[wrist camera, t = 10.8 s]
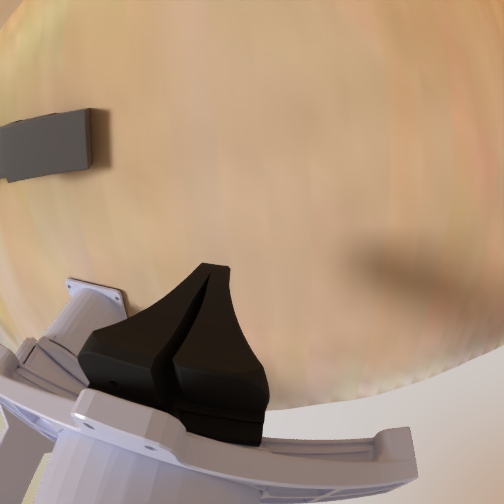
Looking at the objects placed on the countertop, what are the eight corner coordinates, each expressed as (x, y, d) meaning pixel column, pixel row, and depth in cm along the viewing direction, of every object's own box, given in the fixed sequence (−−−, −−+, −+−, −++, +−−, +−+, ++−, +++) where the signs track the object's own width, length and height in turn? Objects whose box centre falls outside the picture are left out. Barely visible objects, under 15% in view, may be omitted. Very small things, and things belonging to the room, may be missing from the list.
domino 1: (87, 168, 19) (7, 183, 17) (92, 163, 21) (15, 177, 18) (84, 109, 17) (1, 129, 14) (89, 107, 18) (10, 125, 16)
